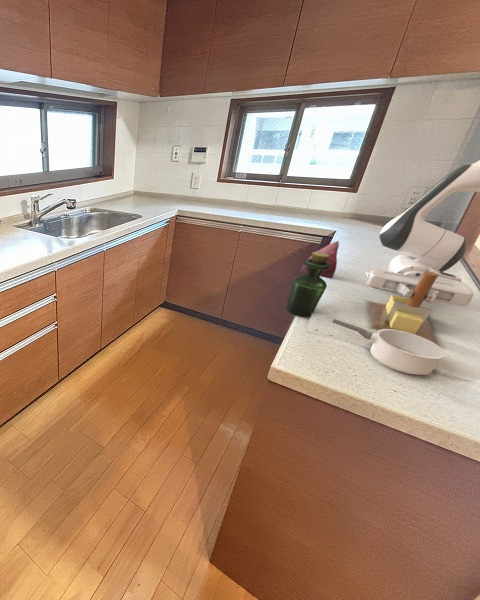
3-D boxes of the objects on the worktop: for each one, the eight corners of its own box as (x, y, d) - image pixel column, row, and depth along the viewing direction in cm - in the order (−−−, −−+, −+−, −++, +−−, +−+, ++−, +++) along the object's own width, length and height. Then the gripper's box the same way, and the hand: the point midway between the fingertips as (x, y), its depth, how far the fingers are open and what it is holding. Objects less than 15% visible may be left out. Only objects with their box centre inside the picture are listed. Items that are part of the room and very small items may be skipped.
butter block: (407, 311, 94) (414, 299, 93) (411, 322, 89) (418, 309, 87) (385, 306, 97) (391, 294, 95) (387, 316, 91) (394, 304, 90)
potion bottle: (315, 321, 91) (341, 261, 83) (282, 314, 94) (303, 255, 86) (313, 310, 97) (336, 252, 89) (282, 303, 101) (302, 247, 92)
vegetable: (324, 280, 127) (349, 244, 121) (331, 286, 118) (359, 248, 112) (297, 268, 130) (320, 233, 123) (301, 274, 121) (326, 236, 114)
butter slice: (414, 329, 85) (421, 316, 83) (415, 334, 83) (423, 321, 81) (389, 323, 88) (396, 310, 86) (390, 328, 86) (397, 315, 84)
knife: (418, 326, 86) (450, 275, 78) (420, 331, 84) (452, 278, 77) (384, 318, 89) (411, 268, 82) (385, 322, 87) (412, 271, 80)
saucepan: (328, 329, 87) (336, 311, 85) (431, 362, 75) (444, 342, 73) (320, 347, 80) (328, 327, 77) (432, 386, 68) (447, 365, 65)
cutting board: (423, 319, 94) (425, 314, 93) (436, 351, 79) (439, 346, 79) (366, 305, 101) (368, 301, 100) (369, 332, 86) (371, 328, 86)
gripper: (370, 260, 96) (372, 274, 86) (469, 278, 85) (485, 296, 75) (361, 280, 98) (362, 295, 88) (455, 299, 88) (469, 320, 78)
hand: (419, 296), depth 82 cm, fingers closed on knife, 2 cm apart
